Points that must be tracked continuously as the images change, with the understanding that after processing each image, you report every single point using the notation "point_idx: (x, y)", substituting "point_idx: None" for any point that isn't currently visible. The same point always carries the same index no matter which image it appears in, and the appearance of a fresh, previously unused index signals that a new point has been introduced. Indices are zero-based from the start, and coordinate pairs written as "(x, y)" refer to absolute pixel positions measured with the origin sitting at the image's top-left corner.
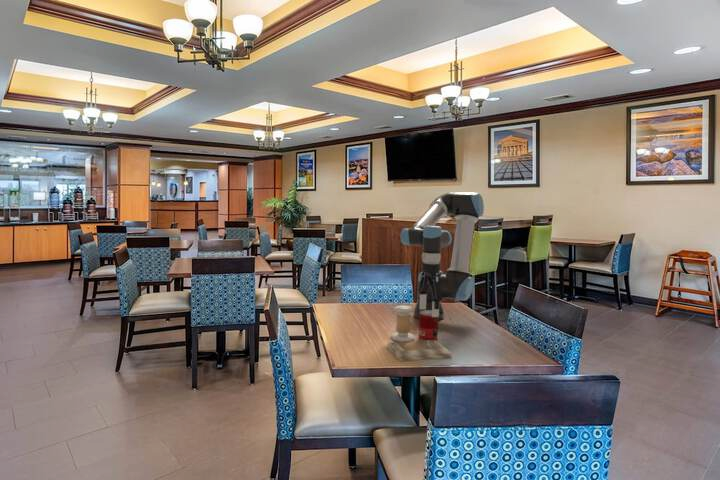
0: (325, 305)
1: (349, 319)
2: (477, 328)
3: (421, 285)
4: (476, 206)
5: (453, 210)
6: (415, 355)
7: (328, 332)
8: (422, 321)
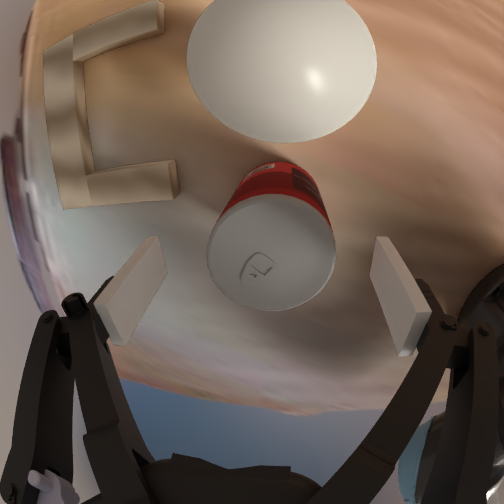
0: None
1: None
2: (338, 382)
3: (466, 395)
4: None
5: None
6: (45, 94)
7: None
8: (247, 187)
